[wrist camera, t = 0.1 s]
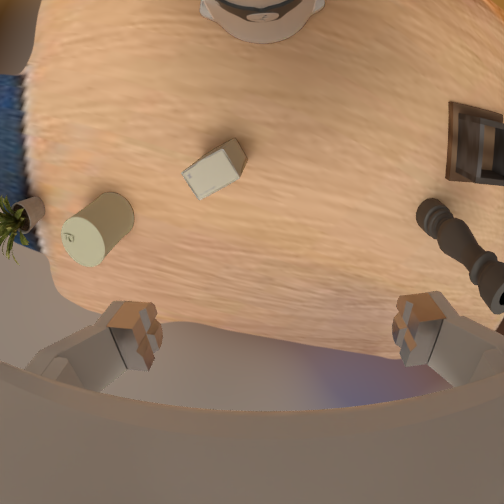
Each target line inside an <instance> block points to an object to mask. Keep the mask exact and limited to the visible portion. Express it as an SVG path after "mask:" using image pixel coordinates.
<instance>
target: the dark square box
mask: <svg viewBox="0 0 504 504" xmlns="http://www.w3.org/2000/svg"><path fill="white" fill-rule="evenodd" d="M445 178H446V179H447V180H449V181H461V182H473V183H479V184H489V185H499V186H504V124H503V115H502V114H498V113H495V112H491V111H487V110H484V109H480V108H476V107H472V106H467V105H463V104H458V103H453V102H449V131H448V152H447V165H446V176H445Z"/></svg>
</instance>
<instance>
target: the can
mask: <svg viewBox="0 0 504 504" xmlns="http://www.w3.org/2000/svg"><path fill="white" fill-rule="evenodd" d="M133 224H134V213H133V210H132V207H131V205H130V204H129V202H128V201H127V200H126V199H125V198H124V197H123V196H121V195H119V194H117V193H114V192H107V193H104V194H102V195H100V196H99V197H98V198H97V199H96V200H95V201H93V202H92V203H91V204H89V205H88V206H86V207H85V208H84V209H82V210H81V211H79V212H78V213H77V214H75V215H74V216H72V217H71V218H69V219H68V220H66V221H65V223H64V224H63V227H62V231H61V237H62V242H63V245H64V247H65V249H66V251H67V253H68V254H69V255H70V257H71V258H72V259H73V260H74V261H76V262H77V263H79V264H81V265H83V266H86V267H94V266H97V265H99V264H100V263H101V262H102V261H103V259H104V258H105V257H106V255H107V254H108V253H109V252H110V251H111V250H112V249H113V247H114V246H115V245H116V244H117V243H118V242H119V241H120V240H121V239H122V238H123V237H124V236H125V235H126V234H128V233H129V232H130V231H131V229H132V227H133Z"/></svg>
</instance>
